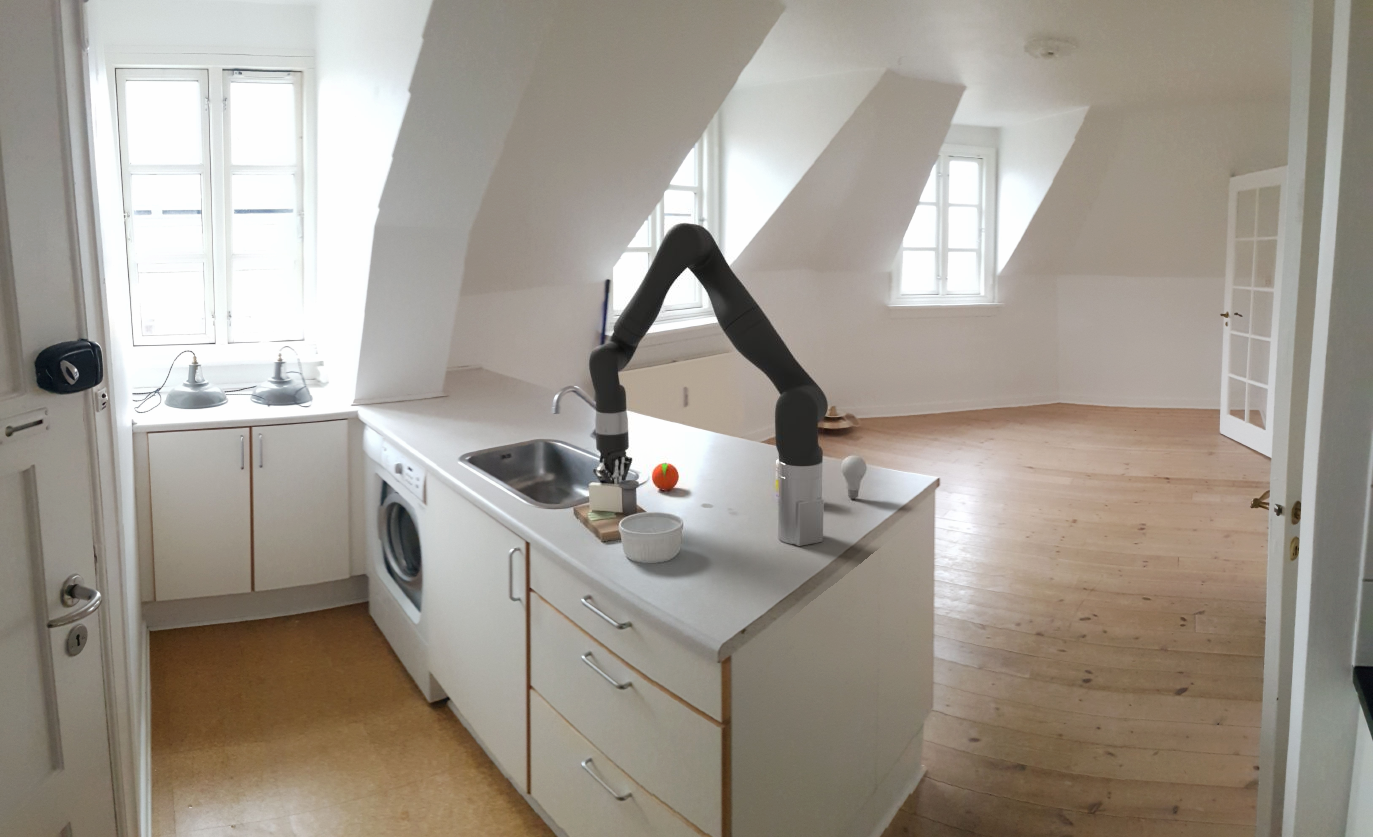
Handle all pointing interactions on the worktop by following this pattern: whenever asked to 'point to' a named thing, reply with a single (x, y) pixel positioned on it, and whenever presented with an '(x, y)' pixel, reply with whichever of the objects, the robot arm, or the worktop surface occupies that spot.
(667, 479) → the clementine
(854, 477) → the lightbulb
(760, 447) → the worktop surface
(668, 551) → the ramekin
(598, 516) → the board
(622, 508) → the knob
